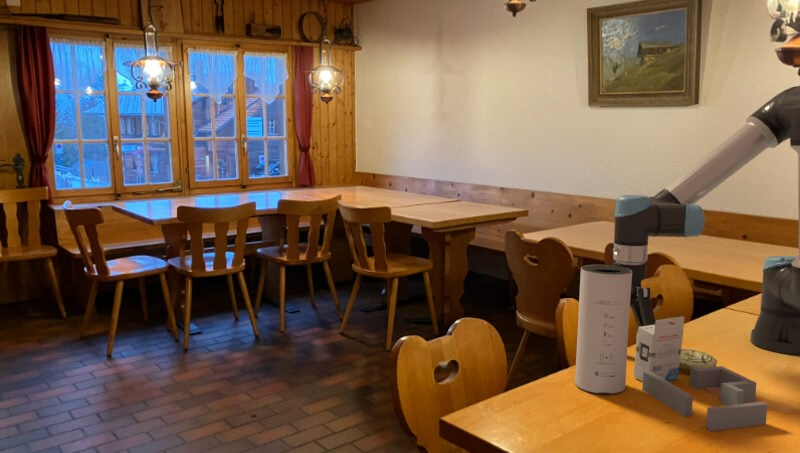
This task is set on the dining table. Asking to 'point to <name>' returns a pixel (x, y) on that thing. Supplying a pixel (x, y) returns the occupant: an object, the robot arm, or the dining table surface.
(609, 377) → the speaker
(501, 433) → the dining table surface
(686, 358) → the decorated donut
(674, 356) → the ink box
